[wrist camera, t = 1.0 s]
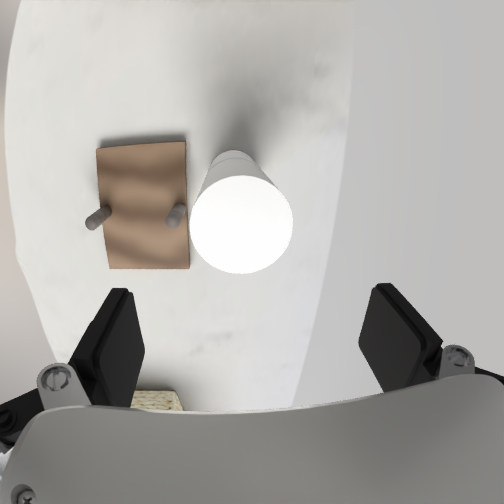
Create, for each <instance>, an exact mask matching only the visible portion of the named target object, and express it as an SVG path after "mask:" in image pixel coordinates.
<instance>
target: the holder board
mask: <svg viewBox="0 0 504 504" xmlns="http://www.w3.org/2000/svg"><path fill="white" fill-rule="evenodd" d="M96 160H97V176H98V188H99V199H100V209H99V210H97V211H96V212H95V213H93V214H92V215H91V216H89V217H88V218H87V219H86V221H85V224H86V227H87V228H88V229H89V230H95V229H96V228H97V227H98V226H100V225H101V224H103V231H104V238H105V245H106V251H107V257H108V262H109V268H110V269H189V268H190V254H189V236H188V214H187V180H186V141H183V142H163V143H148V144H135V145H124V146H114V147H105V148H98V149H96Z"/></svg>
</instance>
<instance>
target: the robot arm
mask: <svg viewBox="0 0 504 504" xmlns="http://www.w3.org/2000/svg"><path fill="white" fill-rule="evenodd" d="M442 342H443V340H442V339H441V338H440V337H439V336H438V334H437V333H436V332H435V331H434V330H433V329H432V327H431V326H430V325H429V324H428V323H427V322H426V321H425V319H424V318H423V317H422V316H421V315H420V314H419V313H418V312H417V311H416V309H415V308H414V307H413V306H412V305H411V304H410V303H409V302H408V301H407V300H406V298H405V297H404V296H403V295H402V294H401V293H400V292H399V291H398V290H397V289H396V288H395V287H394V286H393V285H392V284H391V283H380V284H377V285H376V287H374V288H373V289H372V291H371V296H370V300H369V304H368V307H367V311H366V315H365V319H364V322H363V326H362V330H361V333H360V337H359V342H358V343H359V347H360V349H361V351H362V353H363V355H364V356H365V358H366V360H367V362H368V364H369V366H370V367H371V369H372V371H373V373H374V375H375V377H376V379H377V380H378V382H379V384H380V386H381V388H382V390H383V392H384V393H380V394H376V395H371V396H366V397H361V398H355V399H350V400H343V401H337V402H331V403H325V404H317V405H310V406H301V407H291V408H280V409H267V410H250V411H171V410H152V409H138V408H130V407H131V403H132V399H133V395H134V391H135V387H136V384H137V380H138V376H139V373H140V369H141V365H142V362H143V358H144V354H145V348H144V343H143V339H142V334H141V330H140V326H139V321H138V316H137V311H136V307H135V301H134V296H133V293H132V292H129V291H128V289H127V288H112V289H111V291H110V293H109V294H108V296H107V298H106V299H105V301H104V303H103V304H102V306H101V308H100V309H99V311H98V313H97V314H96V316H95V318H94V320H93V321H91V323H90V324H89V326H88V328H87V329H86V331H85V333H84V335H83V336H82V338H81V340H80V342H79V344H78V346H77V347H76V349H75V351H74V353H73V355H72V357H71V359H70V361H69V362H68V364H65V363H55V364H51V365H49V366H47V367H45V368H44V369H43V370H42V371H41V372H40V374H39V375H38V377H37V387H38V388H36V389H34V390H32V391H30V392H28V393H25V394H23V395H21V396H19V397H17V398H14V399H12V400H10V401H8V402H5V403H3V404H1V405H0V504H504V377H503V376H500V375H498V374H495V373H492V372H489V371H486V370H483V369H480V368H478V367H475V361H474V357H473V356H472V354H471V353H470V352H469V351H468V350H467V349H465V348H464V347H461V346H458V345H449V346H446V347H445V348H444V349H442V347H441V345H442Z"/></svg>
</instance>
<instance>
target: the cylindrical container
mask: <svg viewBox="0 0 504 504" xmlns="http://www.w3.org/2000/svg"><path fill="white" fill-rule="evenodd" d="M189 227H190V235H191V239H192V241H193V244H194V246H195V248H196V250H197V251H198V253H199V254H200V255H201V256H202V258H203V259H204V260H205V261H207V262H208V263H209V264H210V265H212V266H214V267H216V268H218V269H220V270H222V271H226V272H229V273H238V274H242V273H251V272H255V271H259V270H261V269H263V268H265V267H267V266H269V265H270V264H272V263H273V262H275V261H276V260H277V259H278V258H279V257H280V256H281V255H282V253H283V252H284V250H285V249H286V248H287V246H288V243H289V241H290V239H291V235H292V230H293V217H292V213H291V209H290V206H289V204H288V202H287V200H286V198H285V197H284V196H283V194H282V193H281V192H280V191H279V189H278V188H277V187H276V186H275V185H274V184H273V182H272V181H271V180H270V179H269V178H268V177H267V175H266V174H265V173H264V172H263V171H262V170H261V169H260V167H259V166H258V165H257V164H256V163H255V162H254V161H253V160H252V158H251V157H249V156H248V155H247V154H245V153H244V152H241V151H236V150H230V151H226V152H223V153H221V154H220V155H218V156H217V157H216V158H215V159H214V160H213V162H212V164H211V166H210V168H209V170H208V173H207V175H206V178H205V180H204V182H203V185H202V187H201V189H200V192H199V194H198V196H197V199H196V201H195V204H194V206H193V209H192V213H191V216H190V226H189Z"/></svg>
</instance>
